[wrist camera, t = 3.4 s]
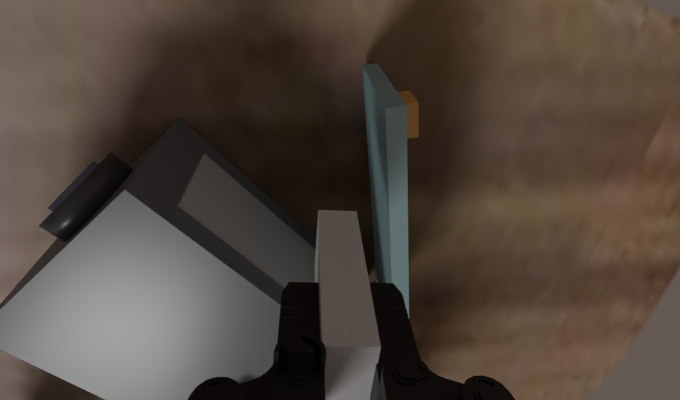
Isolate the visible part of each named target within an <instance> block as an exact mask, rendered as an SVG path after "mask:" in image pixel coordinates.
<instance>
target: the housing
mask: <svg viewBox="0 0 680 400" xmlns="http://www.w3.org/2000/svg"><path fill="white" fill-rule="evenodd" d="M48 209H50V210H51V211H53V212H52V213H51V214H50V215H49V216H48V217H47V218H46V219H45V220H44V221H43V222H42V223H41V224H40V225H39V226H40V227H41V228H43V229H44V230H46V231H48V232H49V233H51V234H52V235H54V236H56V237H57V239H56V240H55V242H54V243H53V244H52V245H51V246H50V247H49V249H48V250H47V251H46V252H45V253H44V254H43V255H42V257H41V258H40V259H39V260H38V261H37V262H36V264H35V265H34V266H33V267H32V268H31V269H30V270H29V272H28V273H27V274H26V275H25V276H24V277H23V279H22V280H21V281H20V282H19V283H18V284H17V285H16V287H15V288H14V289H13V290H12V291H11V292H10V294H9V295H8V296H7V297H6V298H5V299H4V301H3V302H2V303H1V304H0V350H3V351H5V352H7V353H9V354H11V355H13V356H15V357H17V358H19V359H21V360H23V361H25V362H28V363H30V364H32V365H34V366H36V367H38V368H40V369H42V370H44V371H46V372H48V373H51V374H53V375H55V376H57V377H59V378H61V379H63V380H65V381H67V382H69V383H71V384H73V385H76V386H78V387H80V388H82V389H84V390H86V391H88V392H90V393H92V394H94V395H96V396H98V397H101V398H103V399H105V400H188V398H189V396H190V394H191V393H192V392H193V391H194V389H195V388H196V387H197V386H198V385H199V384H201V383H202V382H204V381H205V380H207V379H211V378H214V377H229V378H231V379H233V380H236V381H237V382H238V383H239V384H240V383H243V382H247V381H250V380H253V379H255V378H258V377H260V376H262V375H263V374H265V373H266V372H267V371H268V370H269V369H270V368H271V367H272V365H273V360H274V349H275V347H276V344H277V341H278V329H279V318H280V307H281V294H282V291H283V290H284V288H285V287H286V285H287V284H288V282H315V252H316V238H315V237H314V236H313V235H312V234H311V233H309V232H308V231H307V230H306V229H305V228H304V227H303V226H301V225H300V224H299V223H298V222H297V221H296V220H295V219H294V218H292V217H291V216H290V215H289V214H288V213H287V212H286V211H285V210H283V209H282V208H281V207H280V206H279V205H278V204H277V203H275V202H274V201H273V200H272V199H271V198H270V197H269V196H268V195H266V194H265V193H264V192H263V191H262V190H261V189H260V188H258V187H257V186H256V185H255V184H254V183H253V182H252V181H251V180H249V179H248V178H247V177H246V176H245V175H244V174H243V173H242V172H240V171H239V170H238V169H237V168H236V167H235V166H234V165H232V164H231V163H230V162H229V161H228V160H227V159H226V158H225V157H223V156H222V155H221V154H220V153H219V152H218V151H217V150H215V149H214V148H213V147H212V146H211V145H210V144H209V143H208V142H206V141H205V140H204V139H203V138H202V137H201V136H200V135H199V134H197V133H196V132H195V131H194V130H193V129H192V128H191V127H189V126H188V125H187V124H186V123H185V122H184V121H183V120H182V119H180V118H178V119H177V120H176V121H175V122H174V123H173V124H172V125H171V126H170V127H169V128H168V129H167V130H166V131H165V132H164V133H163V134H162V135H161V136H160V137H159V138H158V139H157V140H156V141H155V142H154V143H153V144H152V145H151V146H150V147H149V148H148V149H147V150H146V151H145V152H144V153H143V154H142V155H141V156H140V157H139V158H138V159H137V160H136V161H135V162H134V163H133V164H132V165H131V166H130V167H129V166H128V165H127V164H126V163H124V162H123V161H122V160H120V159H119V158H118V157H116V156H115V155H114V154H113V153H110V154H109V155H108V156H107V157H106V158H105V159H104V160H103V161H102V162H101V163H100V164H99V165H98V164H97V163H95V162H92V163H91V164H90V165H89V166H88V167H87V168H86V169H85V170H84V171H83V172H82V173H81V174H80V175H79V176H78V177H77V178H76V179H75V180H74V181H73V182H72V183H71V184H70V185H69V186H68V188H67V189H66V190H65V191H64V192H63V193H62V194H61V195H60V196H59V197H58V198H57V199H56V200H55V201H54V202H53V203H52V204H51V205H50V206H49V207H48Z"/></svg>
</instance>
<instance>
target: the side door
mask: <svg viewBox="0 0 680 400" xmlns="http://www.w3.org/2000/svg"><path fill="white" fill-rule="evenodd" d="M362 72H363V87H364V103H365V119H366V134H367V150H368V165H369V181H370V197H371V212H372V228H373V243H374V259H375V275H376V280H375V281H374V283H394V284H395V286H396V287H397V288H398V289H399V291H400V292H401V293H402V295H403V298H404V302H405V306H406V309H407V313H408V319H409V262H408V168H407V139H409V138H418V137H419V102H418V101H417V100H416V98H415V97H414V96H413V94H412V93H411V92H410V91H400V92H397V91H396V89H395V88H394V87H393V85H392V84H391V82H390V81H389V79H388V78H387V76H386V75H385V73H384V72H383V71H382V69H381V68H380V66H379V65H378V63H376V64H367V65H362Z"/></svg>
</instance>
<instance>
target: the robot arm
mask: <svg viewBox="0 0 680 400" xmlns="http://www.w3.org/2000/svg"><path fill="white" fill-rule="evenodd" d="M188 400H515V399H514V397H513V396H512V395H511V393H510V392H509V391H508V390H507V389H506V388H505V387H504V386H503V385H502V384H501V383H499V382H498V381H496V380H495V379H493V378H490V377H486V376H473V377H471V378H469V379H467V380H466V381H465V383H464V384H462V383H459V382H455V381H452V380H449V379H445V378H443V377H440V376H438V375H436V374H435V373H433V372H431V371H430V370H429V369H428V367H427V365H426V364H425V363H424V362H422V361H421V359H420V356H419V354H418V350H417V346H416V343H415V339H414V335H413V332H412V328H411V324H410V321H409V319H408V313H407V309H406V306H405V302H404V298H403V295H402V293H401V292H400V291H399V289H398V288H397V287H396V286H395V284H394V283H369V278H368V272H367V267H366V261H365V255H364V250H363V244H362V239H361V233H360V228H359V222H358V217H357V211H336V210H318V222H317V237H316V252H315V282H288V284H287V285H286V287H285V288H284V290H283V291H282V294H281V307H280V318H279V329H278V341H277V344H276V347H275V349H274V360H273V365H272V367H271V368H270V369H269V370H268V371H267V372H266V373H265V374H263V375H262V376H260V377H258V378H255V379H253V380H250V381H247V382H243V383H240V384H239V383H238V382H237V381H236V380H233V379H231V378H229V377H214V378H211V379H207V380H205V381H204V382H202V383H201V384H199V385H198V386H197V387H196V388H195V389H194V391H193V392H192V393H191V394H190V396H189V398H188Z"/></svg>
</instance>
